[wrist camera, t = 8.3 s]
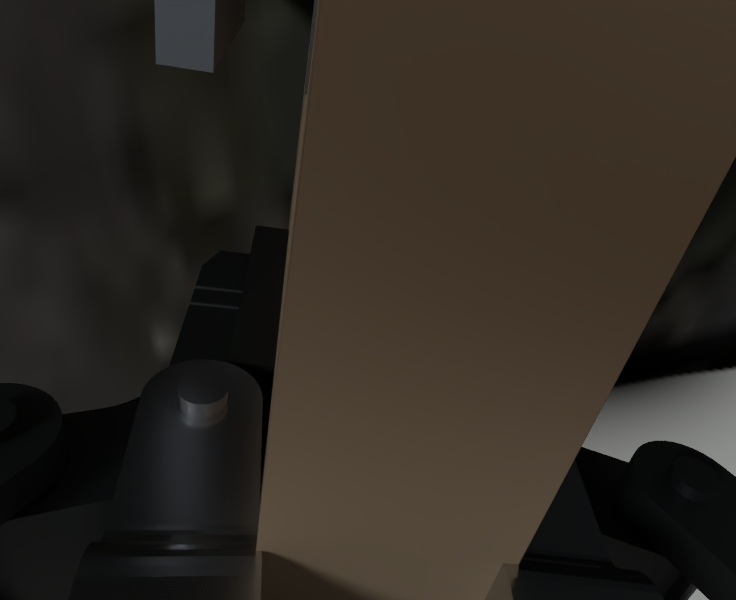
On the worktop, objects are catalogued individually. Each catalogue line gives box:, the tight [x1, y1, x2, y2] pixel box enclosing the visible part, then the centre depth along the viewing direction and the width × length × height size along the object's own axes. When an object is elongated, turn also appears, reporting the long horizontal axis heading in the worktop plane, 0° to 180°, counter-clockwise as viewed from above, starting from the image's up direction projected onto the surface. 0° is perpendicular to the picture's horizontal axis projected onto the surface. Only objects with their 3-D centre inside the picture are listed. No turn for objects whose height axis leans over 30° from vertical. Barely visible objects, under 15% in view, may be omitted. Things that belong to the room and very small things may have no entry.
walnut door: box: [256, 0, 736, 600], centre depth 10 cm, size 12×3×11 cm, turn 170°
